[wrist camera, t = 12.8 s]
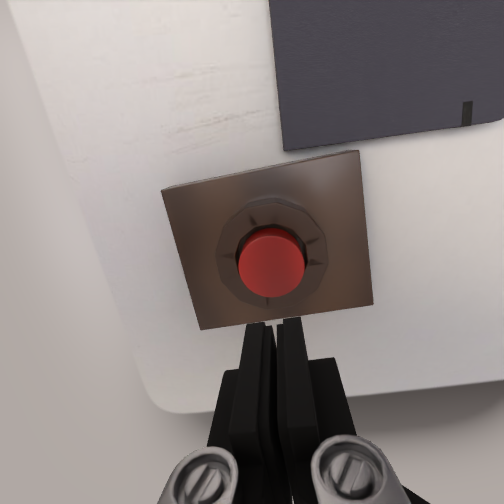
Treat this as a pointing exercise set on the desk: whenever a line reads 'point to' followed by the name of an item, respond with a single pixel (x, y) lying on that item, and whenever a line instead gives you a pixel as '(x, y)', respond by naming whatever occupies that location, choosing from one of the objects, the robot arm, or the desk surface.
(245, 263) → the button
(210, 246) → the control block
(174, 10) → the desk surface
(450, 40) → the notebook
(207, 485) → the robot arm
